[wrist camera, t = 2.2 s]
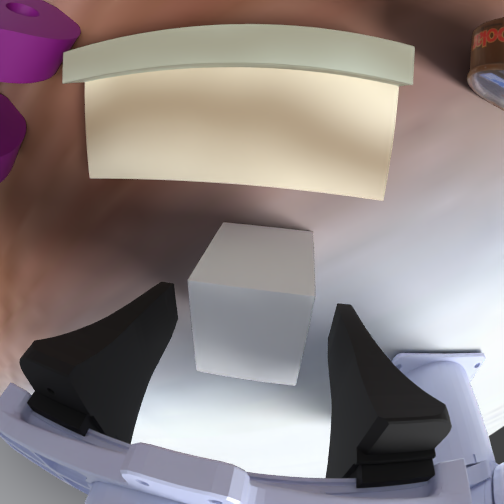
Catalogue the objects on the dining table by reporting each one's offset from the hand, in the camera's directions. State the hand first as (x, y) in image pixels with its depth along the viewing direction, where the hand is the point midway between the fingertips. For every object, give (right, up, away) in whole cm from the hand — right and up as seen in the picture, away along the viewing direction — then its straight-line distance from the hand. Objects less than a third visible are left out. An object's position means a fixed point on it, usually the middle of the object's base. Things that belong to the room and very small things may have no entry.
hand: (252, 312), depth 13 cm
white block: (+1, +2, +3) cm, 4 cm away
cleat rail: (-1, +8, 0) cm, 8 cm away
